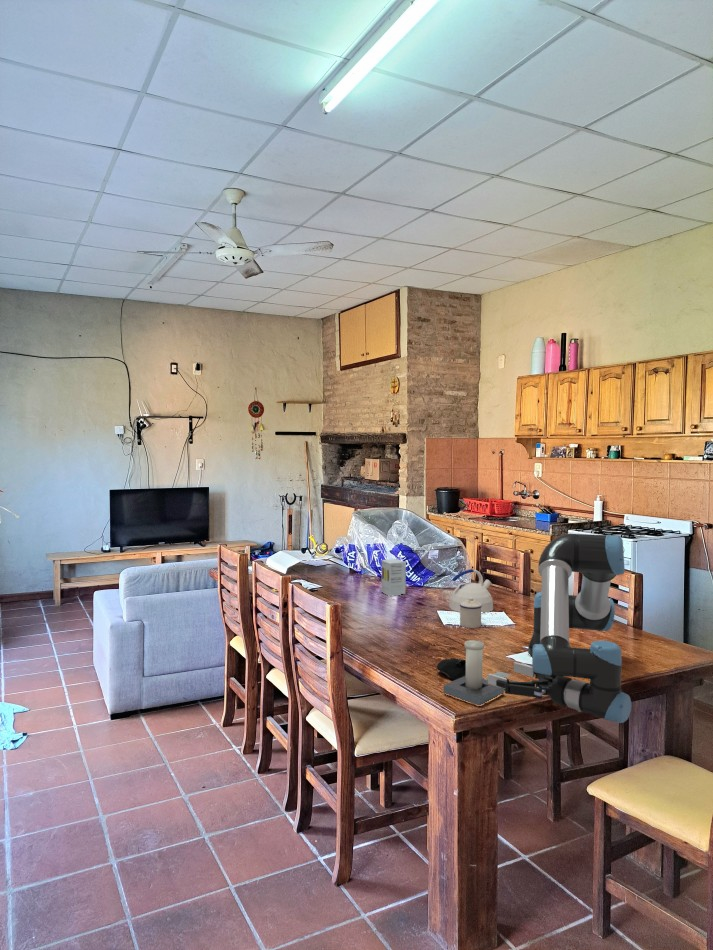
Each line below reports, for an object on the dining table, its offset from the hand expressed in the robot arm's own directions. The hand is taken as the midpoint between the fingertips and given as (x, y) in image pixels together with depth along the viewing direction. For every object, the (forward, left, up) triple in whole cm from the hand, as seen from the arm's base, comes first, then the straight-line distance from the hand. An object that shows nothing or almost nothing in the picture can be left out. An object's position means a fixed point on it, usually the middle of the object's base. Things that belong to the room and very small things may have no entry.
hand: (501, 672), depth 189 cm
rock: (-9, -24, -10) cm, 27 cm away
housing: (0, -10, -9) cm, 14 cm away
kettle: (-84, -70, -10) cm, 110 cm away
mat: (-16, -9, -10) cm, 21 cm away
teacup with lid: (-61, -55, -10) cm, 83 cm away
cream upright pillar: (0, -10, -10) cm, 14 cm away
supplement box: (-78, -113, -10) cm, 137 cm away
